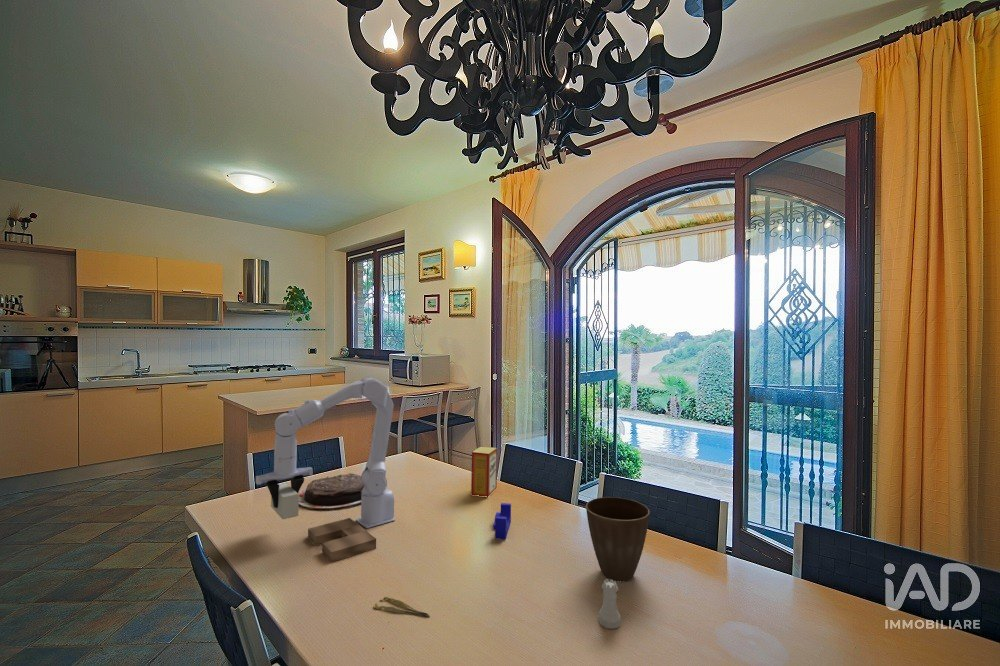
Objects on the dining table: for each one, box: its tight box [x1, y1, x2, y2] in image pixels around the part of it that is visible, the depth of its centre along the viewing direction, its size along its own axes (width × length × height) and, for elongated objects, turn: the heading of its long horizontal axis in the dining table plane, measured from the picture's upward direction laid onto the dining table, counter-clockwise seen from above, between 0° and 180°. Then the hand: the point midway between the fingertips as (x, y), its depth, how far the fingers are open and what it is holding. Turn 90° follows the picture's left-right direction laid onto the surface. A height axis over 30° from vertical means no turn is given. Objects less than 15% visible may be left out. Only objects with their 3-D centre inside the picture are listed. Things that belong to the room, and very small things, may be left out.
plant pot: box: [585, 496, 651, 583], centre depth 107 cm, size 15×15×16 cm
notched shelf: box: [307, 517, 377, 563], centre depth 122 cm, size 12×18×2 cm, turn 41°
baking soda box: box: [470, 446, 498, 497], centre depth 164 cm, size 10×6×16 cm
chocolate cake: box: [298, 473, 364, 511], centre depth 158 cm, size 28×28×7 cm
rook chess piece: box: [597, 578, 622, 630], centre depth 89 cm, size 4×4×8 cm
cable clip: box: [492, 502, 512, 540], centre depth 132 cm, size 12×4×6 cm, turn 171°
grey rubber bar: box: [270, 482, 300, 520], centre depth 126 cm, size 4×12×6 cm, turn 41°
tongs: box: [373, 596, 431, 619], centre depth 92 cm, size 4×13×2 cm, turn 73°
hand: (284, 504), depth 125 cm, fingers closed on grey rubber bar, 4 cm apart
